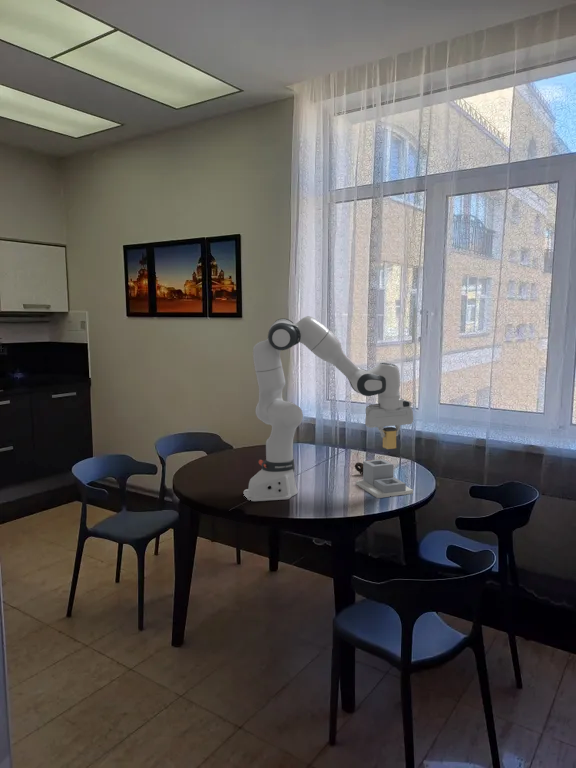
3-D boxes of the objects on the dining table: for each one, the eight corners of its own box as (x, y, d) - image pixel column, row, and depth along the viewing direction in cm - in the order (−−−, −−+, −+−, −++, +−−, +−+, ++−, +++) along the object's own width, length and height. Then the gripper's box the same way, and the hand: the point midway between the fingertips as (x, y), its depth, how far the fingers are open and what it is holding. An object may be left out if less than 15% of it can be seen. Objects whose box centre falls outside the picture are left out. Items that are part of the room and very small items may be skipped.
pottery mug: (378, 473, 247) (383, 460, 242) (377, 487, 239) (381, 474, 235) (353, 466, 248) (357, 453, 243) (351, 480, 240) (355, 467, 236)
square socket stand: (377, 498, 210) (377, 473, 209) (356, 484, 229) (356, 461, 228) (413, 493, 215) (413, 469, 214) (389, 480, 234) (389, 458, 233)
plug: (387, 449, 213) (387, 429, 212) (382, 447, 216) (382, 427, 215) (396, 448, 214) (396, 428, 213) (391, 446, 217) (391, 427, 217)
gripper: (369, 405, 207) (369, 440, 208) (415, 402, 213) (415, 435, 214) (362, 403, 213) (362, 437, 214) (407, 400, 219) (407, 432, 220)
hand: (389, 436), depth 214 cm, fingers closed on plug, 4 cm apart
